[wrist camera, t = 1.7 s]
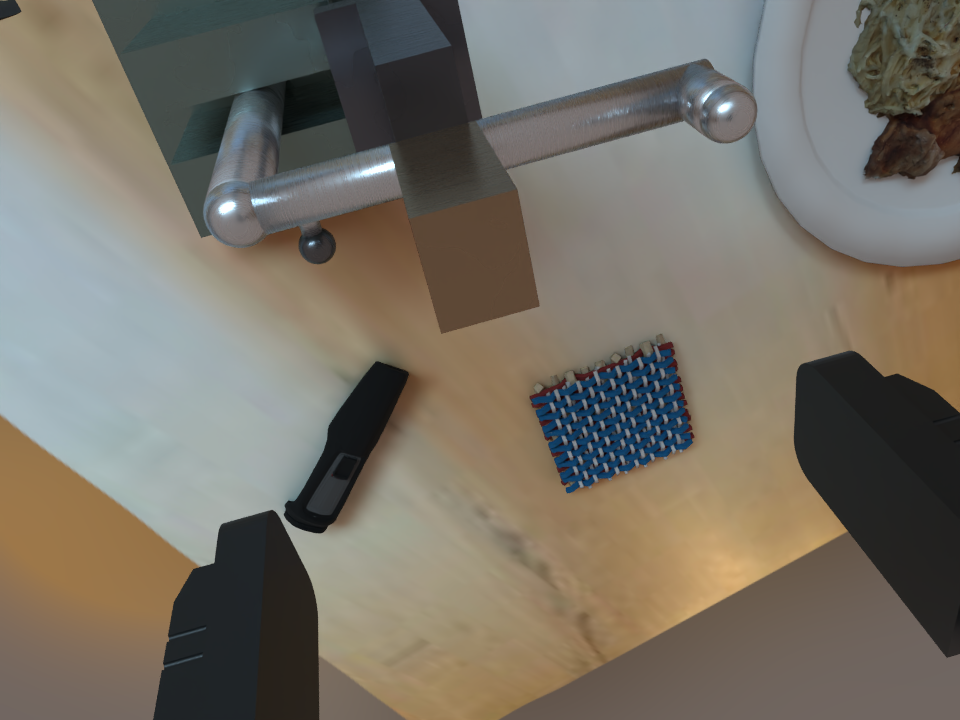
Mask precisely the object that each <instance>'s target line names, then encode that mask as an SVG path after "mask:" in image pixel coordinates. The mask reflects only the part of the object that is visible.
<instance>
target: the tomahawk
mask: <svg viewBox="0 0 960 720" xmlns="http://www.w3.org/2000/svg"><path fill="white" fill-rule="evenodd" d="M20 12H22V11H21V10H20V8H19V6H18V4H17V3H16V1H15V0H7V1H0V20H1V19H4V18H7V17H10V16H13V15H16V14H18V13H20Z"/></svg>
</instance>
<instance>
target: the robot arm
mask: <svg viewBox="0 0 960 720" xmlns="http://www.w3.org/2000/svg"><path fill="white" fill-rule="evenodd" d="M794 446H795V451H796V455H797V458H798V461H799V464H800V466H801V468H802V470H803V472H804V474H805V476H806V477H807V479H808V480H809V482H810V483H811V484H812V486H813V487H814V488H815V489H816V491H817V492H818V493H819V494H820V496H821V497H822V498H823V500H824V501H825V502H826V503H827V505H828V506H829V507H830V509H831V510H832V511H833V512H834V514H835V515H836V516H837V518H838V519H839V520H840V521H841V523H842V524H843V525H844V527H845V528H846V529H847V530H848V532H849V533H850V534H851V536H852V537H853V538H854V539H855V541H856V542H857V543H858V544H859V546H860V547H861V548H862V550H863V551H864V552H865V553H866V555H867V556H868V557H869V559H870V560H871V561H872V562H873V564H874V565H875V566H876V568H877V569H878V570H879V571H880V573H881V574H882V575H883V576H884V578H885V579H886V580H887V582H888V583H889V584H890V585H891V587H892V588H893V589H894V590H895V592H896V593H897V594H898V596H899V597H900V598H901V600H902V601H903V602H904V603H905V605H906V606H907V607H908V608H909V610H910V611H911V612H912V614H913V615H914V616H915V618H916V619H917V620H918V621H919V622H920V624H921V625H922V626H923V628H924V629H925V630H926V632H927V633H928V634H929V635H930V637H931V638H932V639H933V641H934V642H935V643H936V644H937V646H938V647H939V648H940V650H941V651H942V652H943V653H944V654H945V656H946V657H951V656H954V655H958V654H960V413H959V412H958V411H957V410H956V409H955V408H954V407H952V406H951V405H950V404H949V403H948V402H947V401H946V400H945V399H943V398H942V397H941V396H940V395H939V394H938V393H937V392H935V391H934V390H932V389H930V388H928V387H926V386H924V385H921V384H919V383H917V382H915V381H913V380H910V379H908V378H906V377H904V376H902V375H900V374H894V375H891V376H887V377H884V376H883V375H881V374H880V373H879V372H878V371H877V370H876V369H875V368H874V367H873V366H872V365H871V364H870V363H869V362H868V361H867V360H865V359H864V358H863V357H862V356H861V355H860V354H858V353H857V352H854V351H847V352H843V353H839V354H836V355H832V356H829V357H825V358H821V359H818V360H814V361H811V362H807V363H804V364H801V365H800V366H799V368H798V371H797V377H796V400H795V424H794ZM168 637H169V642H167V644H166V650H165V656H164V662H163V664H164V670H162V673H161V678H160V684H159V690H158V695H157V701H156V707H155V712H154V719H153V720H319V663H318V662H319V661H318V611H317V604H316V598H315V594H314V590H313V586H312V583H311V580H310V578H309V575H308V573H307V571H306V569H305V567H304V565H303V563H302V561H301V559H300V557H299V555H298V553H297V551H296V549H295V547H294V545H293V543H292V541H291V539H290V537H289V535H288V533H287V531H286V529H285V527H284V525H283V523H282V521H281V519H280V518H279V516H278V515H277V513H276V512H275V511H273V510H270V511H266V512H263V513H259V514H255V515H252V516H248V517H245V518H241V519H237V520H234V521H230V522H227V523H223V524H222V525H221V526H220V529H219V533H218V540H217V547H216V555H215V563H213V564H210V565H206V566H203V567H199V568H196V569H193V571H192V572H191V574H190V576H189V577H188V579H187V581H186V582H185V584H184V586H183V588H182V589H181V591H180V593H179V594H178V596H177V598H176V599H175V601H174V605H173V610H172V616H171V622H170V627H169V633H168Z"/></svg>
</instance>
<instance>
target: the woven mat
mask: <svg viewBox="0 0 960 720" xmlns="http://www.w3.org/2000/svg"><path fill="white" fill-rule="evenodd" d="M656 338H657V345H656V346H651V344H650V341H647V342H643V343H642V344H640V347H641V348H640V349H639V350H638V351H637V352H636V353H635V354H634V350H633V348H632V345H631V346H628V347H626V348H625V353H626V357H627V358H625V359H622V360H621V357H620V356H619V355H618V354H616V353H614V354H613V355H612V356H611V363H612V364H609V365H605V362H604V361H603V360H602V361H599V362H596V363H595V365H596V367H595V369H594V370H593V371H591V372H589V370H588V367H587V366H586V367H584V368H581V369H580V370H581V374H574V372H573V370H572V371H569V372H566V373H565V374H564V376H565V378H564V380H563V381H562V382H561V383H560V381H559V379H558V377H557V375H554V376H551V380H552V384H553V386H552V387H550V388H548V389H545V390H544V387H543V386H541V385H540V384H539V383H537V384H536V385H535V387H534V391H535V394H534V395H532V396H530V399H531V401H532V402H533V403H531V404H532V407H533V408H539V407H541V409H538V410H536V415H537V417H538V418H539V420H540V421H539V422H540V425H541V427H542V429H543V432H544V435H545V436H544V437H545V439H546V440H547V441H548V440H549V439H550V438H551V437H552V440H553V441H552V442H549V444H548V445H549V448H550V450H551V454H552V456H553V457H554V456H557V455H559V457H556V458H555V459H554V461H555V463H556V465H557V470H558V472H559V473H560V472H561V473H560V474H559V475H560V478H561V480H562V481H561V483H562V485H564V486H565V485H566V484H567V483H568V482H569V484H570V487H567V488H566V492H567V493H571V492H573V491H575V490H576V489H577V488H579V487H580V488H584V486H588V487H589V488H592V486H591V484H593V483H594V482H595V483H599V482H598V478H599V479H602V478H608V480H609V481H610V480H612V478H611V477H612V476H613V475H614V474H615V473H617V476H618V475H619V474H620V471H624V472H625V474H627V473H628V471H630V470H631V469H632V468H633V467H634V466H635V465H636V468H639V464H642V465H644V467H647V466H648V465H647V463H648V462H649V461H650V460H652V462H654V461H655V457H664V460H665V459H668V458H667V456H668V455H669V454H670V452H671V451H672V454H675V452H676V450H679V451H680V452H683V449H687V448H688V447H689V446H690V445H691V444H692V443H693V442H692V438H694V434H693V433H692V432H691V433H687V432H688V431H690V430H692V426H691V425H690V424H689V425H688V424H687V421H690V420H691V416H690V415H689V413H688V410H687V409H685V408H682V407H683V406H685V405H687V401H686V400H681V399H685V396H684V394H683V393H681V392H680V391H683V387H682V385H681V384H677V383H679V382H681V378H680V377H679V376H677V375H676V374H675V371H677V370H678V367H677V361H676V360H675V359H673V357H671V356H673V355H674V354H675V351H674V350H673V349H670V348H673V343H672V342H668V343H665V340H664V338H663V335H662V334H660V335H657V336H656ZM632 378H633V379H632ZM660 379H661V380H660ZM600 381H601V384H600ZM628 382H629V383H628ZM596 385H597V386H596ZM648 385H649V386H648ZM566 386H567V389H566ZM583 391H584V392H583ZM550 394H551V395H550ZM667 402H669V404H667V405H666V403H667ZM603 409H605V411H603ZM593 413H594V415H592V414H593ZM561 415H562V417H563V418H560V417H561ZM641 415H642V416H641ZM578 421H579V423H578ZM668 421H669V422H668ZM546 424H547V425H546ZM544 425H546V426H544ZM645 427H646V429H645ZM597 430H599V431H597ZM615 430H616V432H615ZM646 430H647V432H646ZM641 431H642V432H641ZM662 432H663V433H662ZM583 433H584V437H585V438H584V439H583V436H582V434H583ZM616 433H617V434H616ZM660 433H662V434H661V435H660ZM611 434H612V435H611ZM631 436H632V437H631ZM630 437H631V438H630ZM599 440H600V441H599ZM568 443H569V444H568ZM659 450H661V451H659ZM648 453H649V454H648ZM608 460H609V461H608ZM578 463H579V464H580V465H577V464H578ZM626 463H627V465H625V464H626ZM594 467H595V469H594ZM609 470H610V471H609ZM562 471H565V472H562ZM589 477H590V478H589ZM588 478H589V479H588ZM583 479H585V480H583Z"/></svg>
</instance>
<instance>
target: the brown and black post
mask: <svg viewBox="0 0 960 720" xmlns="http://www.w3.org/2000/svg"><path fill="white" fill-rule="evenodd" d="M313 10H314V17H315V20H316V23H317V27H318V30H319V33H320V36H321V40H322V43H323V46H324V49H325V53H326V56H327V59H328V62H329V65H330V69H331V72H332V75H333V78H334V82H335V85H336V88H337V91H338V94H339V98H340V101H341V104H342V107H343V111H344V114H345V117H346V120H347V123H348V127H349V130H350V133H351V136H352V140H353V143H354V146H355V149H356V152H361V151H364V150H368V149H372V148H375V147H379V146H383V145H386V144H389V148H390V151H391V155H392V159H393V162H394V166H395V170H396V174H397V177H398V181H399V185H400V188H401V192H402V196H403V199H404V203H405V207H406V210H407V214H408V218H409V221H410V225H411V228H412V232H413V235H414V239H415V242H416V246H417V249H418V253H419V257H420V260H421V264H422V267H423V271H424V274H425V278H426V281H427V285H428V288H429V292H430V295H431V299H432V302H433V306H434V309H435V313H436V316H437V320H438V323H439V327H440V330H441V334H442V333H446V332H449V331H453V330H456V329H460V328H464V327H467V326H471V325H474V324H478V323H481V322H485V321H489V320H492V319H496V318H499V317H503V316H506V315H510V314H514V313H517V312H521V311H524V310H528V309H531V308H535V307H539V300H538V295H537V290H536V285H535V280H534V274H533V269H532V264H531V259H530V254H529V248H528V243H527V238H526V233H525V228H524V222H523V217H522V212H521V207H520V201H519V196H518V191H517V188H516V186H515V185H514V183H513V182H512V180H511V178H510V177H509V175H508V173H507V172H506V170H505V168H504V167H503V165H502V163H501V162H500V160H499V158H498V157H497V155H496V153H495V152H494V150H493V148H492V147H491V145H490V143H489V142H488V140H487V138H486V137H485V135H484V134H483V132H482V130H481V129H480V127H479V125H478V124H477V122H476V121H475V120H479V119H482V115H481V110H480V106H479V101H478V96H477V91H476V86H475V81H474V77H473V72H472V67H471V62H470V57H469V53H468V48H467V43H466V38H465V33H464V29H463V24H462V19H461V14H460V9H459V5H458V0H343V1H339V2H336V3H332V4H328V5H324V6H320V7H317V8H313ZM468 122H469V123H468ZM394 142H395V143H394ZM390 143H391V144H390Z"/></svg>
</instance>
